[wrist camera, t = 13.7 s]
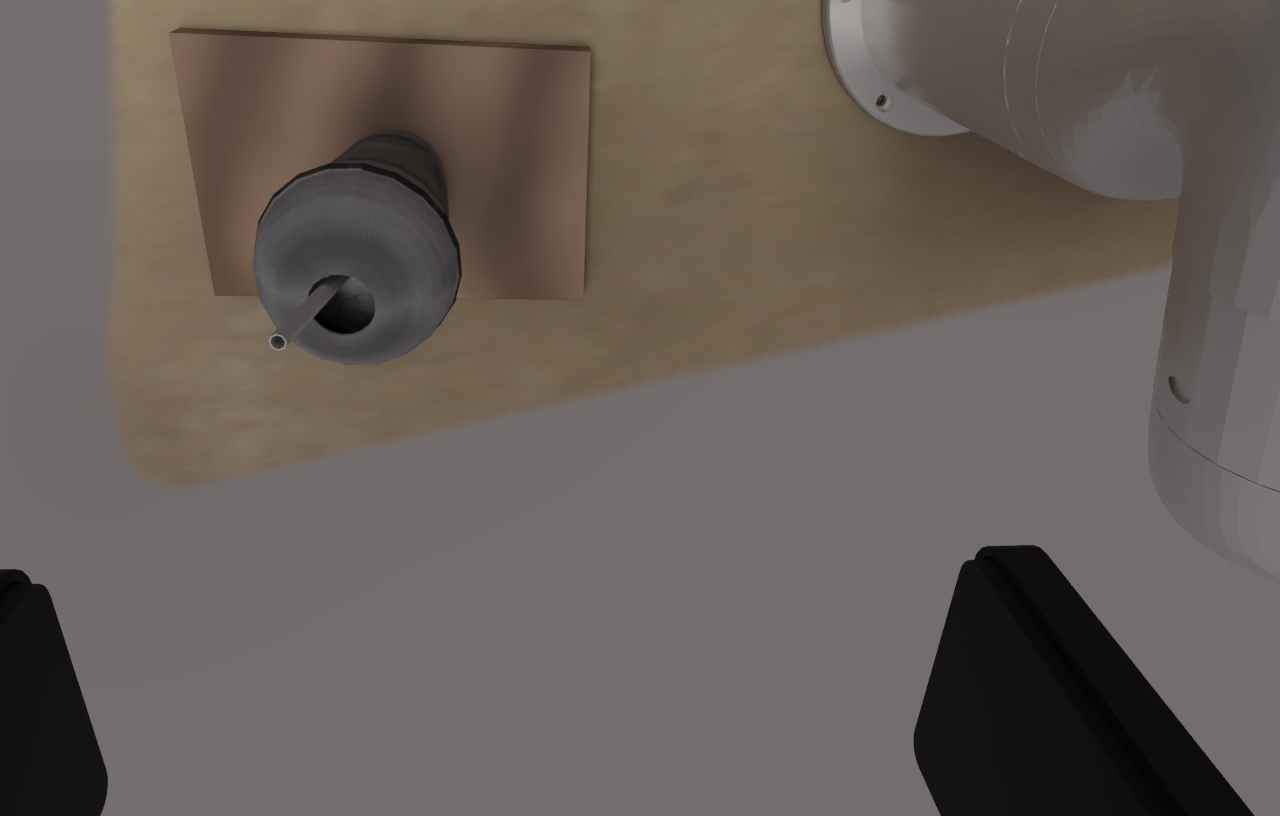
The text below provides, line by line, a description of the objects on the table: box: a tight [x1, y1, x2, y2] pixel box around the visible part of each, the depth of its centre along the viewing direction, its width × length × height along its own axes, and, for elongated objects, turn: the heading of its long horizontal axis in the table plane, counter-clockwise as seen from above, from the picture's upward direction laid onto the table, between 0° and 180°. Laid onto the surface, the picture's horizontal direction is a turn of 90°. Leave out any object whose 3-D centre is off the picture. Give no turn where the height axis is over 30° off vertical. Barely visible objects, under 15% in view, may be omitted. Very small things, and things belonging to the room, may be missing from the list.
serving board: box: [169, 28, 591, 300], centre depth 44 cm, size 18×12×2 cm, turn 87°
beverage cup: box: [253, 129, 462, 365], centre depth 35 cm, size 7×7×20 cm
